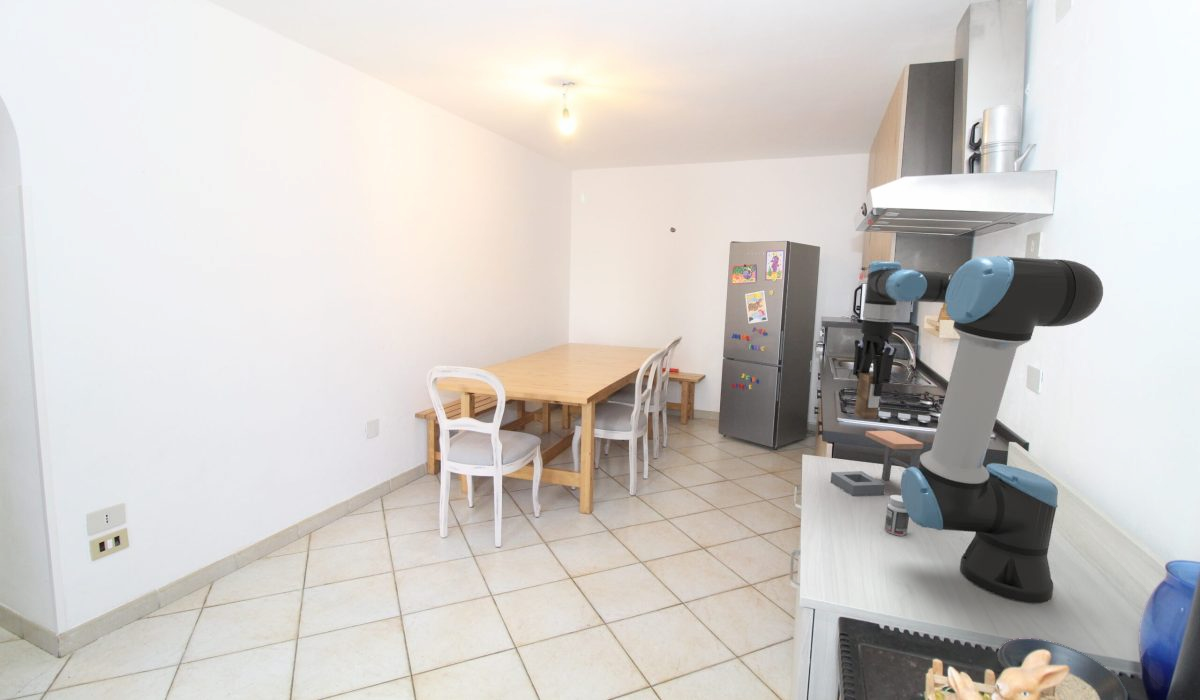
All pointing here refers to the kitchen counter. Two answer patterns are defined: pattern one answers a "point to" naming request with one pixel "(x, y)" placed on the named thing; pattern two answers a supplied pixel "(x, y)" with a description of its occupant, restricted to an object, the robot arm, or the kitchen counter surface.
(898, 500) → the pill bottle
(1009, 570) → the robot arm
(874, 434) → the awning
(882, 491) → the socket block
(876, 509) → the kitchen counter surface
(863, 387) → the peg
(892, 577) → the kitchen counter surface
